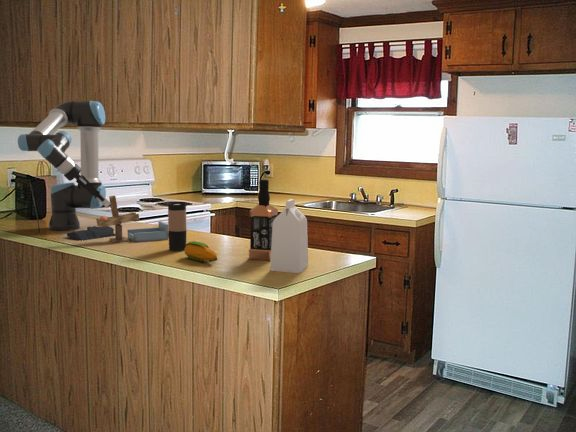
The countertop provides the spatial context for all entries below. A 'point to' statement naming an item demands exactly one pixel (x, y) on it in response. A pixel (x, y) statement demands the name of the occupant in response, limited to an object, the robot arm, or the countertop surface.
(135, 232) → the bin
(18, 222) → the countertop surface
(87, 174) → the robot arm
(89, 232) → the dark slate chunk
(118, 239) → the fulcrum
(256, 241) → the whiskey bottle
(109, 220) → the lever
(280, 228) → the milk
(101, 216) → the ball
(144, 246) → the countertop surface
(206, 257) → the corn
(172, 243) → the travel mug
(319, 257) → the countertop surface
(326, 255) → the countertop surface
